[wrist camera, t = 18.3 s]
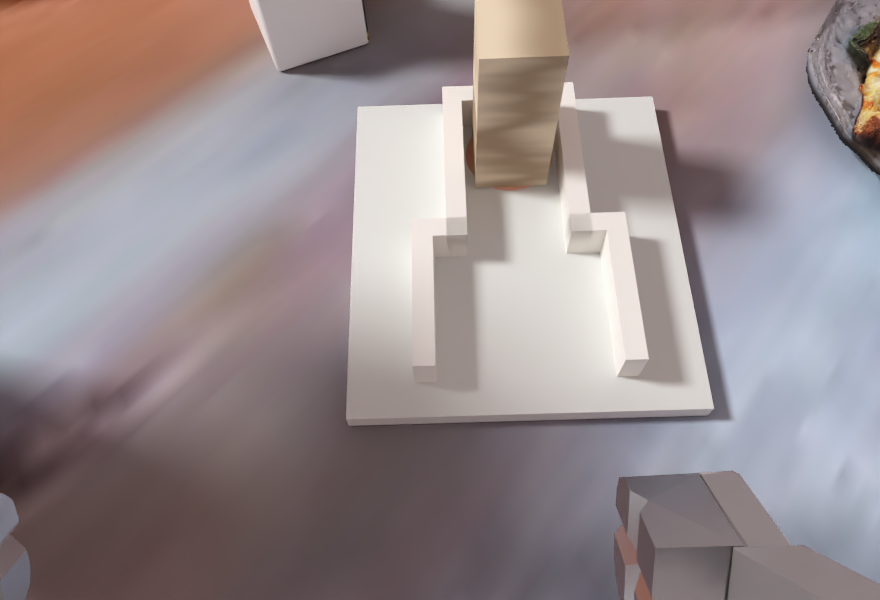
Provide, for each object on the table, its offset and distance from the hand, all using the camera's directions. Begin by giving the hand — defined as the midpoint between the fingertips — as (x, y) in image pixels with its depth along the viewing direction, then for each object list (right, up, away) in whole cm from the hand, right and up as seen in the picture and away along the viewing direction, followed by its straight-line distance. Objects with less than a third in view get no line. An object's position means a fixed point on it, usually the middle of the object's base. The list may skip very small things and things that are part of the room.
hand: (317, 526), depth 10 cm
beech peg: (+6, +12, +37) cm, 40 cm away
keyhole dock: (+6, +6, +36) cm, 37 cm away
